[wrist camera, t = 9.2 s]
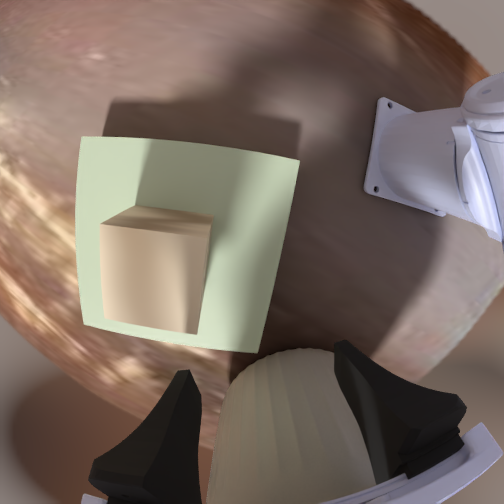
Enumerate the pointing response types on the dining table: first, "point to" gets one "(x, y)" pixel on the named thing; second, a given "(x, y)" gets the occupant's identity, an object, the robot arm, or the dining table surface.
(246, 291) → the green plinth
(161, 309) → the maple block
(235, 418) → the canister
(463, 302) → the dining table surface
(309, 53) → the dining table surface
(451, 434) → the robot arm
